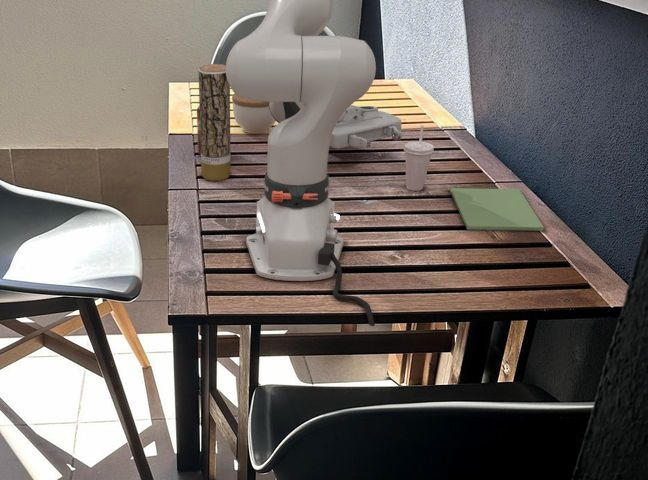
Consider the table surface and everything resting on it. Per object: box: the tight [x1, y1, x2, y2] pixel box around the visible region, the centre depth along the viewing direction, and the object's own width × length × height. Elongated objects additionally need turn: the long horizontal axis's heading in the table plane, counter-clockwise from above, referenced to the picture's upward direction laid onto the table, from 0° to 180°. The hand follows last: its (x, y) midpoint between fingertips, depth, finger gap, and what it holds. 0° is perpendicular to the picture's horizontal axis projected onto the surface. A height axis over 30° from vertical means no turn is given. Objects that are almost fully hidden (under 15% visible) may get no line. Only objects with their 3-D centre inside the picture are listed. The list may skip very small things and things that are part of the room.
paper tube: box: [198, 63, 232, 182], centre depth 182 cm, size 7×7×25 cm
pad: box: [449, 187, 545, 232], centre depth 170 cm, size 20×15×1 cm
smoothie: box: [403, 124, 435, 192], centre depth 178 cm, size 6×6×14 cm
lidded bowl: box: [231, 93, 277, 135], centre depth 215 cm, size 13×13×11 cm
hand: (383, 140), depth 186 cm, fingers open, 8 cm apart
